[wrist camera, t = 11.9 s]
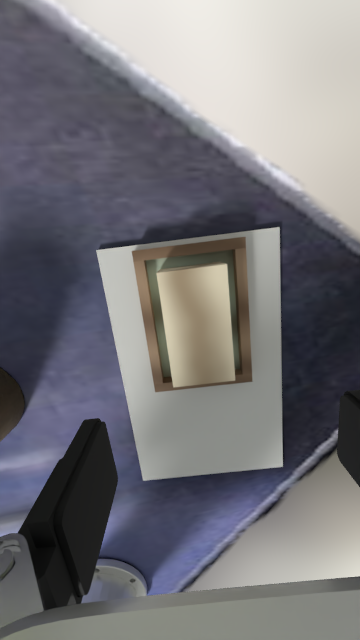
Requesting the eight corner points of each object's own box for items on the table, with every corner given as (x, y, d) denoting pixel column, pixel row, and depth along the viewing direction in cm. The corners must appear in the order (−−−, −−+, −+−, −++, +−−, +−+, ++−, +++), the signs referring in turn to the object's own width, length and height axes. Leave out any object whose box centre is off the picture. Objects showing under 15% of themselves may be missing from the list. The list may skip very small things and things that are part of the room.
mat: (281, 463, 33) (282, 466, 32) (143, 477, 33) (143, 480, 33) (277, 227, 25) (279, 227, 25) (97, 250, 26) (96, 250, 25)
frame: (248, 375, 29) (252, 381, 27) (156, 385, 29) (155, 392, 28) (241, 237, 25) (245, 236, 23) (134, 250, 25) (131, 250, 24)
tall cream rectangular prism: (219, 261, 25) (227, 264, 21) (227, 362, 28) (235, 380, 24) (159, 269, 25) (156, 272, 22) (174, 368, 28) (173, 387, 25)
